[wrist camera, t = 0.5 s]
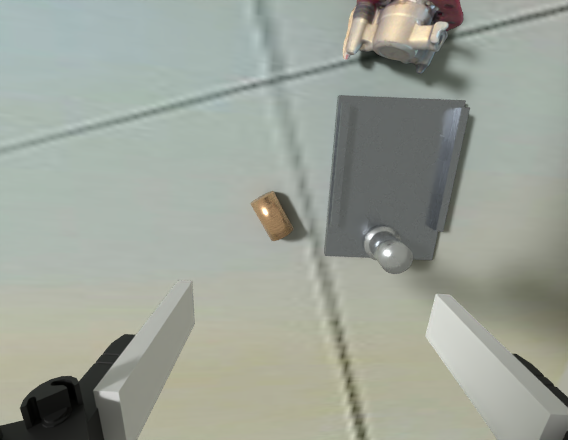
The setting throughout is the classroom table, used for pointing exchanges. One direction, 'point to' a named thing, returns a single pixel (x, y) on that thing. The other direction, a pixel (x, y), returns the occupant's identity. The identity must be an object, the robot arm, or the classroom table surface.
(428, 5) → the brake caliper
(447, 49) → the classroom table surface
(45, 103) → the classroom table surface
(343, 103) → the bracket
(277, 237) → the golden brown rounded block
